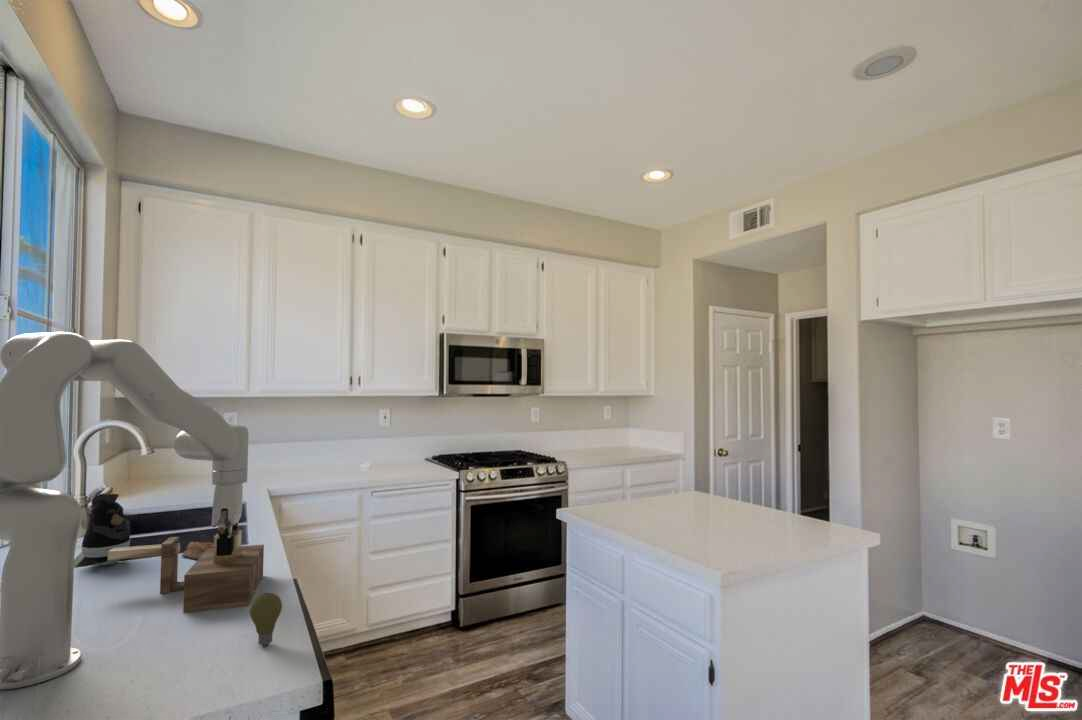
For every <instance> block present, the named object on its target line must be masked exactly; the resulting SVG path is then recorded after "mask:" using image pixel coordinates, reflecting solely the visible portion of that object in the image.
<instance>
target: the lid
mask: <svg viewBox="0 0 1082 720" xmlns="http://www.w3.org/2000/svg"><path fill="white" fill-rule="evenodd" d="M217 534H218V532H217V533H216V534H215V535H214V536H213V543H214V548H212V549H207V550H206V551H205V552H204V554H203V555H202V556H201V557H200V558H199V559H196V561H195V563H194V564H192V566H191V567H190V568H189V570H187V572H186V573H185V574H184V579H183V581H186V580H197V579H207V578H218V577H229V576H239V575H250V573H251V571H252V569H253V568H254V566H255V564H256V562H257V560H258V559H259V557H260V555H261V553H262V551H263V549H264V547H265V544H263V543H262V544H252V545H242V539H243V537H242V536H243V529H239V530H235V531H232V533H231V537H233V540H232V554H231V555H226V556H217V555H216V549H217Z"/></svg>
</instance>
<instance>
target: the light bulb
mask: <svg viewBox="0 0 1082 720" xmlns="http://www.w3.org/2000/svg"><path fill="white" fill-rule="evenodd" d="M282 609H283V603H282V600H281V598H280V596H279V595H277V594H276V593H273V592H264V593H261V594H259V595H258V596H257V597H255V599H253V601H252V603H250V609H249V614H250V618H251V620H252V622H253V624H254V626H255V631H256V633H257V635H258V642H257V643H258V644H259V645H260V646H262V647H268V646H269V645H270V644H271V643H272V642H273V634H274V630H275V627H276V623H277V621H278V618H279V617H280V616H281V615H280V614H281V613H282Z"/></svg>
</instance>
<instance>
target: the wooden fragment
mask: <svg viewBox="0 0 1082 720" xmlns="http://www.w3.org/2000/svg"><path fill="white" fill-rule="evenodd" d="M212 548H214V542H210V541H205V542H204V541H203V542H202V541H201V542H199V541H190V542H189V543H188V544H187V546H186V548H185V549H184V551H183V553H182V555H181V557H183V558H184V557H185V558H190V559H194V560H198V559H199V558H200V557H201V556H202V555H203V554H204V552H205V551H206V550H207V549H212Z"/></svg>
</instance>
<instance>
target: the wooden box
mask: <svg viewBox="0 0 1082 720" xmlns="http://www.w3.org/2000/svg"><path fill="white" fill-rule="evenodd" d="M179 537H180V536H171V537H168V538H167V539H166V540H164V541H163V542H162V543H161V544H162V549H161V556H160V558H161V560H160V581H159V582H160V584H159V585H160V586H159V594H160V595H161V594H169V593H171V592H172V591H181V590H182V589H183V604H182V605H183V609H182V610H183V613H185V614H186V613H193V612H194V613H195V612H201V611H203V612H204V611H210V610H220V609H231V608H238V607H240V608H241V607H247V606H250V605H251V602H252V600H253V598H254V596H255V594H256V592H255V591H257V590H258V587H259V585H260V583H261V581H262V579H261V578H263V577H262V576H264V557H265V556H264V555H265V552H264V551H265V550H264V549H263V551H262V553H261V555H260V557H259V559H258V560H257V562H256V564H255V566H254V568H253V569H252V571H251V573H250V575H239V576H229V577H218V578H207V579H197V580H186V581H184V580H183V581H178V573H179V572H178V569H179V568H178V567H179V552H178V553H177V554H176V555H172V546H173V544H174V543H180V542H179ZM260 580H261V581H260ZM259 582H260V583H259ZM256 589H257V590H256ZM254 593H255V594H254ZM253 595H254V596H253Z"/></svg>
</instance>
